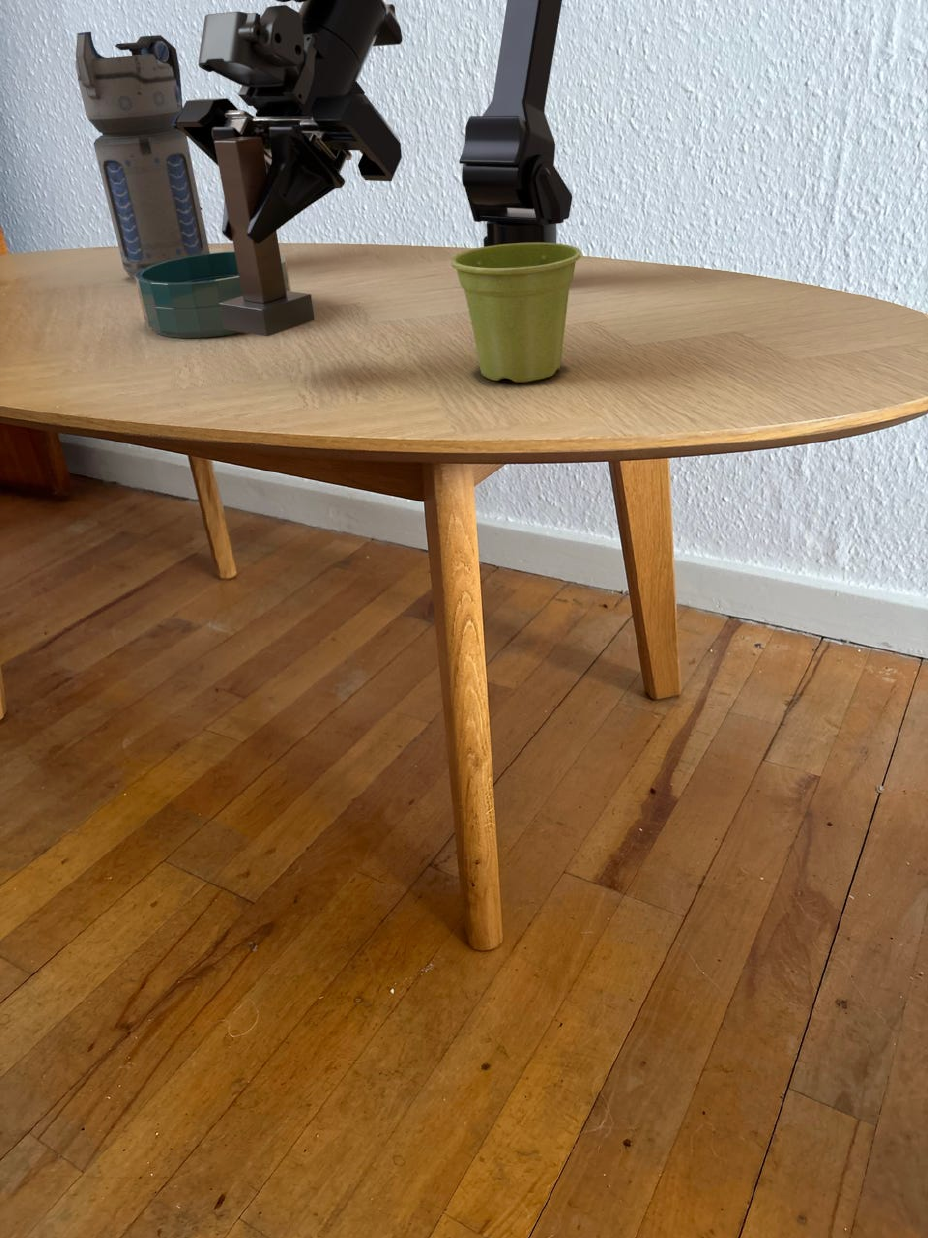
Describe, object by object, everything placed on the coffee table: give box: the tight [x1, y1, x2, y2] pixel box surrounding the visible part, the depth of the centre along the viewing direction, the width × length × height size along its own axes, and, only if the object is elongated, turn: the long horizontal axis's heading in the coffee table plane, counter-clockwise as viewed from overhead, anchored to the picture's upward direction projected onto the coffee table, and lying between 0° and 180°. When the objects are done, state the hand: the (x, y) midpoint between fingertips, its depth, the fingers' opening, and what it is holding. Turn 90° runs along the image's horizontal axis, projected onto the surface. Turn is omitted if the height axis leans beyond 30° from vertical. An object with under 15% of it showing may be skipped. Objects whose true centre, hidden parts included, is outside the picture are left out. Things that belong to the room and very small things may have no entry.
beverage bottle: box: [75, 31, 211, 279], centre depth 109 cm, size 10×13×25 cm
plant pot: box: [450, 243, 582, 383], centre depth 72 cm, size 9×9×9 cm
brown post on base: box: [214, 137, 316, 338], centre depth 71 cm, size 5×5×13 cm
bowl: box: [134, 250, 292, 339], centre depth 94 cm, size 14×14×5 cm
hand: (239, 238), depth 70 cm, fingers closed on brown post on base, 2 cm apart
